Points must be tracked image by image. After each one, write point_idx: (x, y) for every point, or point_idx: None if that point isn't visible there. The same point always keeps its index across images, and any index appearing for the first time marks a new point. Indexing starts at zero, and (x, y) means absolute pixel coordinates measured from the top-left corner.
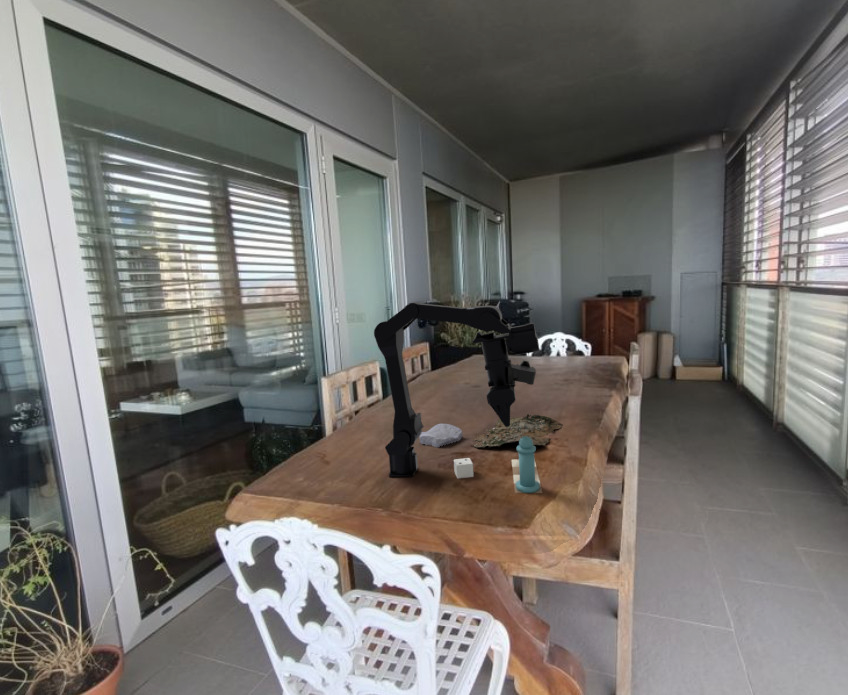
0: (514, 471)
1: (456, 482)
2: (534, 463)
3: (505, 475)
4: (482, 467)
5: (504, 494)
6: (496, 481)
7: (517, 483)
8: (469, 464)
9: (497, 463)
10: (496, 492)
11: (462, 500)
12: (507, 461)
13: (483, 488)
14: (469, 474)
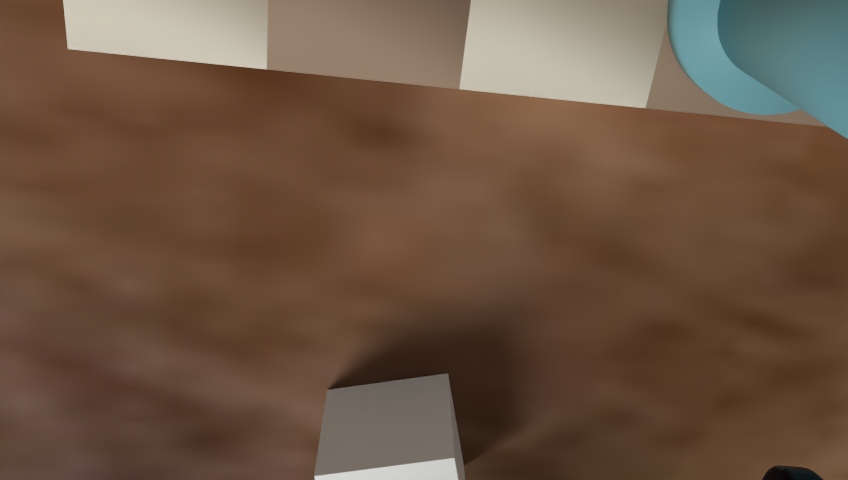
0: (383, 64)
1: (489, 471)
2: None
3: (410, 142)
4: (223, 302)
5: (768, 193)
6: (521, 225)
7: (752, 100)
8: (457, 476)
9: (128, 178)
10: (717, 244)
11: (769, 445)
12: (71, 82)
13: (626, 322)
14: (453, 422)
